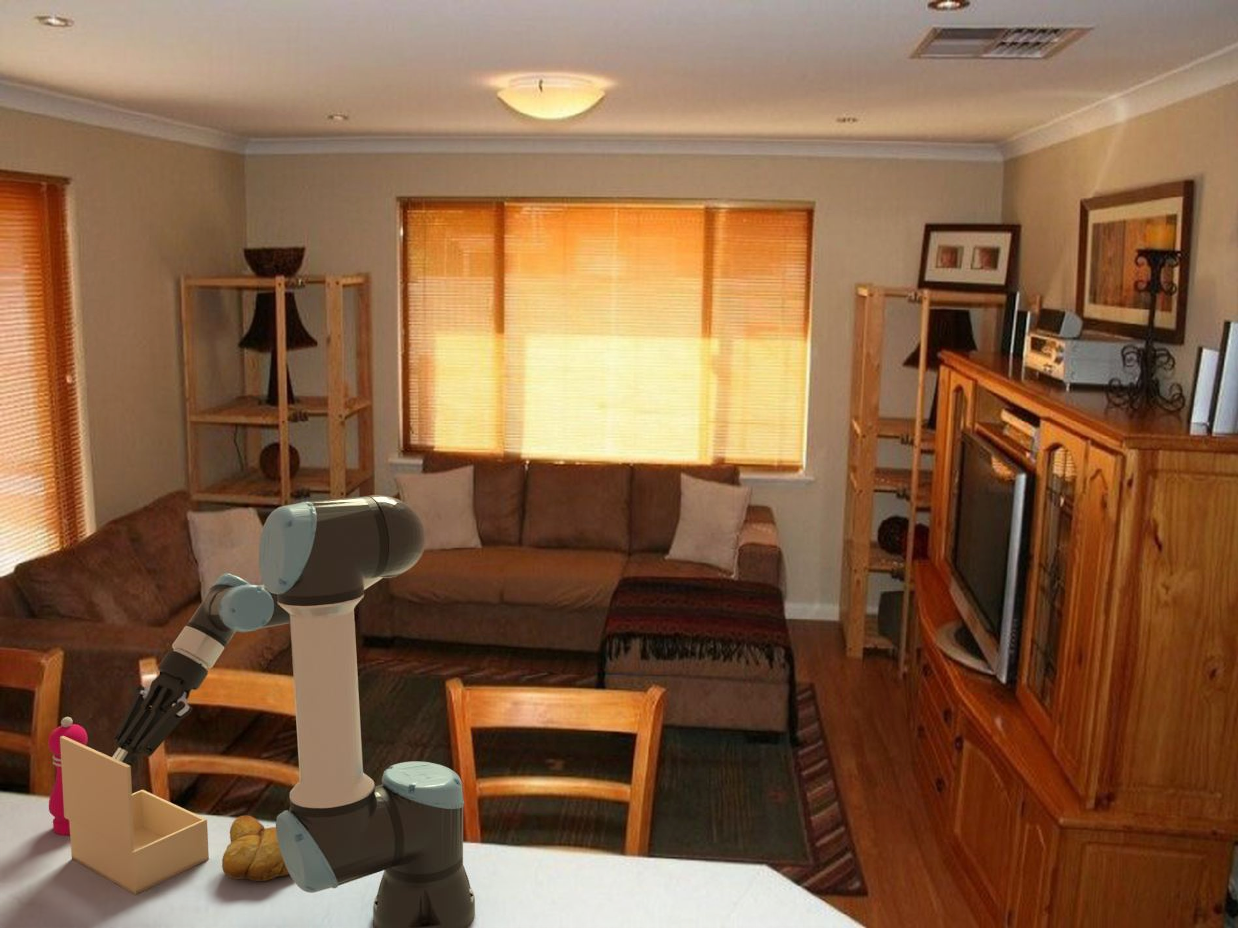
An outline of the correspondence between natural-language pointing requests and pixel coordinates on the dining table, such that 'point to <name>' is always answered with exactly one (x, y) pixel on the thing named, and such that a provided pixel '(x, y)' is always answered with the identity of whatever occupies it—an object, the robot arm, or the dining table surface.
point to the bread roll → (253, 851)
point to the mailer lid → (97, 793)
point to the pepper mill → (56, 796)
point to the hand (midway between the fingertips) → (103, 789)
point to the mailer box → (145, 845)
